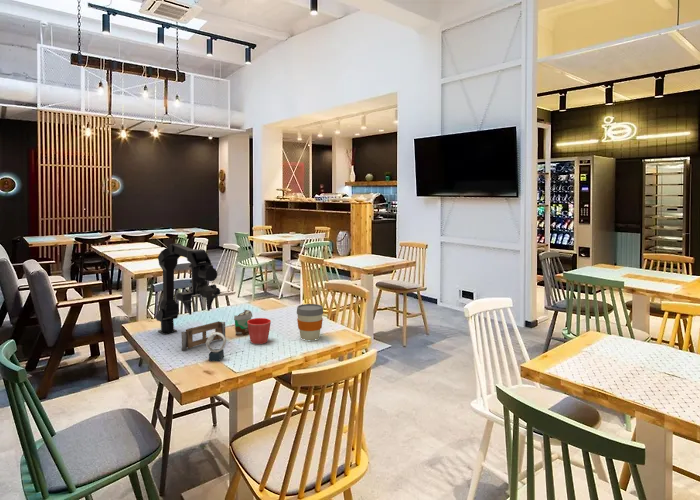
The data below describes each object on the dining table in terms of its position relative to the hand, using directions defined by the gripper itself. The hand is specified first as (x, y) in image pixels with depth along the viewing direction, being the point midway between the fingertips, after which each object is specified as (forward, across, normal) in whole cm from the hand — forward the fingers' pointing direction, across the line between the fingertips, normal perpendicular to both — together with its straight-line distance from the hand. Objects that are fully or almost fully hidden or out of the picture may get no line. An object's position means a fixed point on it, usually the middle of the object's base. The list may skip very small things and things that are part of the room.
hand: (199, 312), depth 205 cm
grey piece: (+15, +1, -2) cm, 15 cm away
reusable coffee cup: (+15, +39, -30) cm, 52 cm away
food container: (+15, +24, -1) cm, 28 cm away
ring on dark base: (+15, -6, -21) cm, 26 cm away
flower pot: (+15, +20, -16) cm, 30 cm away
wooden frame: (+14, +1, -2) cm, 14 cm away
